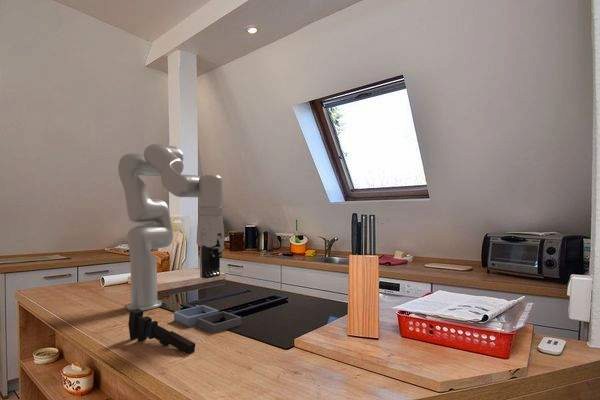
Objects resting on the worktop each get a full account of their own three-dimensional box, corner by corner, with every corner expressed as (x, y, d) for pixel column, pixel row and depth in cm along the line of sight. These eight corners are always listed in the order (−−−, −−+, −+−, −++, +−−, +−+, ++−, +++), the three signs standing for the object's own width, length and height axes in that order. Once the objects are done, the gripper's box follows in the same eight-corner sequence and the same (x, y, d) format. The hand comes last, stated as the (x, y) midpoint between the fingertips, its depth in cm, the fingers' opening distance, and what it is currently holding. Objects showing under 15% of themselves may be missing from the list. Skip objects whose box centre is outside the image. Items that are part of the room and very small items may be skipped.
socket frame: (197, 325, 120) (197, 318, 120) (223, 318, 127) (223, 311, 127) (214, 333, 113) (214, 325, 113) (241, 324, 120) (241, 317, 120)
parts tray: (174, 320, 126) (173, 311, 126) (203, 313, 134) (203, 305, 134) (188, 327, 119) (188, 318, 119) (218, 319, 127) (218, 310, 127)
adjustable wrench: (185, 372, 97) (126, 337, 110) (193, 368, 100) (134, 334, 112) (189, 342, 97) (130, 310, 109) (197, 338, 99) (138, 308, 111)
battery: (206, 279, 118) (206, 244, 118) (199, 278, 120) (198, 243, 120) (223, 276, 123) (223, 242, 123) (216, 274, 126) (216, 241, 126)
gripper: (187, 212, 125) (188, 266, 125) (214, 213, 113) (215, 273, 113) (207, 211, 130) (207, 263, 131) (235, 212, 119) (235, 269, 119)
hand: (211, 267), depth 122 cm, fingers closed on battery, 4 cm apart
